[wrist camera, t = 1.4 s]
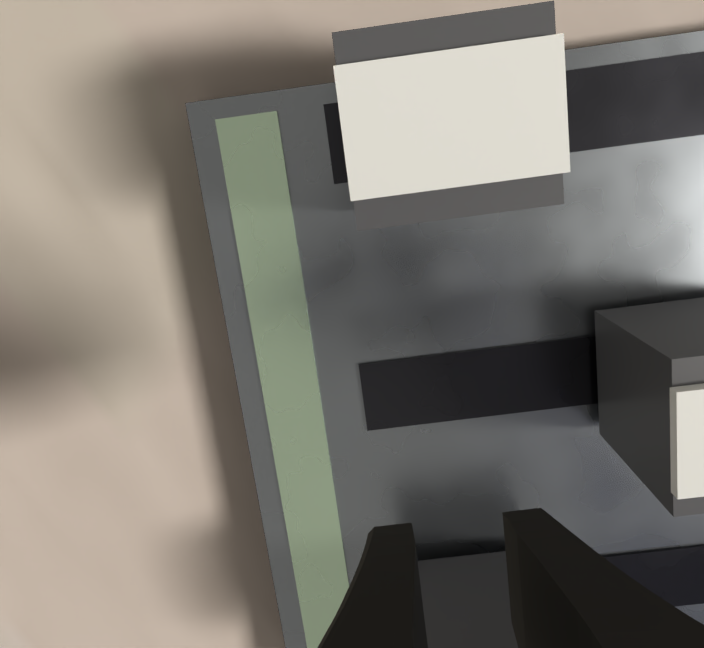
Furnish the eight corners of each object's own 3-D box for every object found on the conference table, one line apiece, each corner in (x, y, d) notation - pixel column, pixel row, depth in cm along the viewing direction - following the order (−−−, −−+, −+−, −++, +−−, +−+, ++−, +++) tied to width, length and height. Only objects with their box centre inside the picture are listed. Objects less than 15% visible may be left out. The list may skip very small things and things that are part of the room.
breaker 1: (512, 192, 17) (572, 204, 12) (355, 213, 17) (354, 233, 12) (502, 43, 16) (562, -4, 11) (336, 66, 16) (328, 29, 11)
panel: (1012, 574, 22) (1063, 606, 20) (296, 651, 22) (292, 687, 21) (1091, -17, 17) (1164, -35, 16) (198, 107, 18) (184, 102, 16)
